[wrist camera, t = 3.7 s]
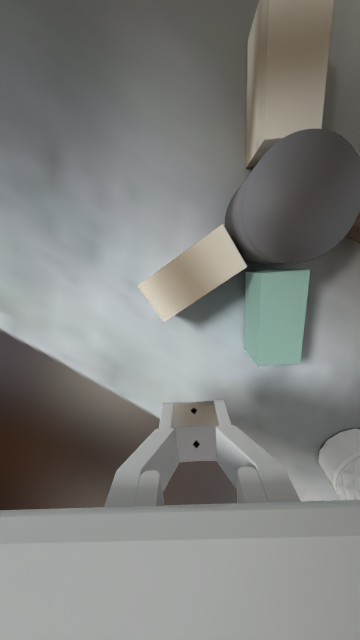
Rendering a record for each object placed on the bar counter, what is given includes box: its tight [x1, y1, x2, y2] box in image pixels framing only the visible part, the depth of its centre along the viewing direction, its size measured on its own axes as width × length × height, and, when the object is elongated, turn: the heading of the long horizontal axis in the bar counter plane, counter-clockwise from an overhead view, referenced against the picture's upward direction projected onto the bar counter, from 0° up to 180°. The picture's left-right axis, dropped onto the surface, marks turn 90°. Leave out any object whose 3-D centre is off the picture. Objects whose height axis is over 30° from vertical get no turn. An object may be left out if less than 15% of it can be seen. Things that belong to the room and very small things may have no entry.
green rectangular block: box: [244, 269, 310, 366], centre depth 14 cm, size 6×3×3 cm, turn 5°
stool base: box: [138, 0, 360, 322], centre depth 12 cm, size 15×19×4 cm
